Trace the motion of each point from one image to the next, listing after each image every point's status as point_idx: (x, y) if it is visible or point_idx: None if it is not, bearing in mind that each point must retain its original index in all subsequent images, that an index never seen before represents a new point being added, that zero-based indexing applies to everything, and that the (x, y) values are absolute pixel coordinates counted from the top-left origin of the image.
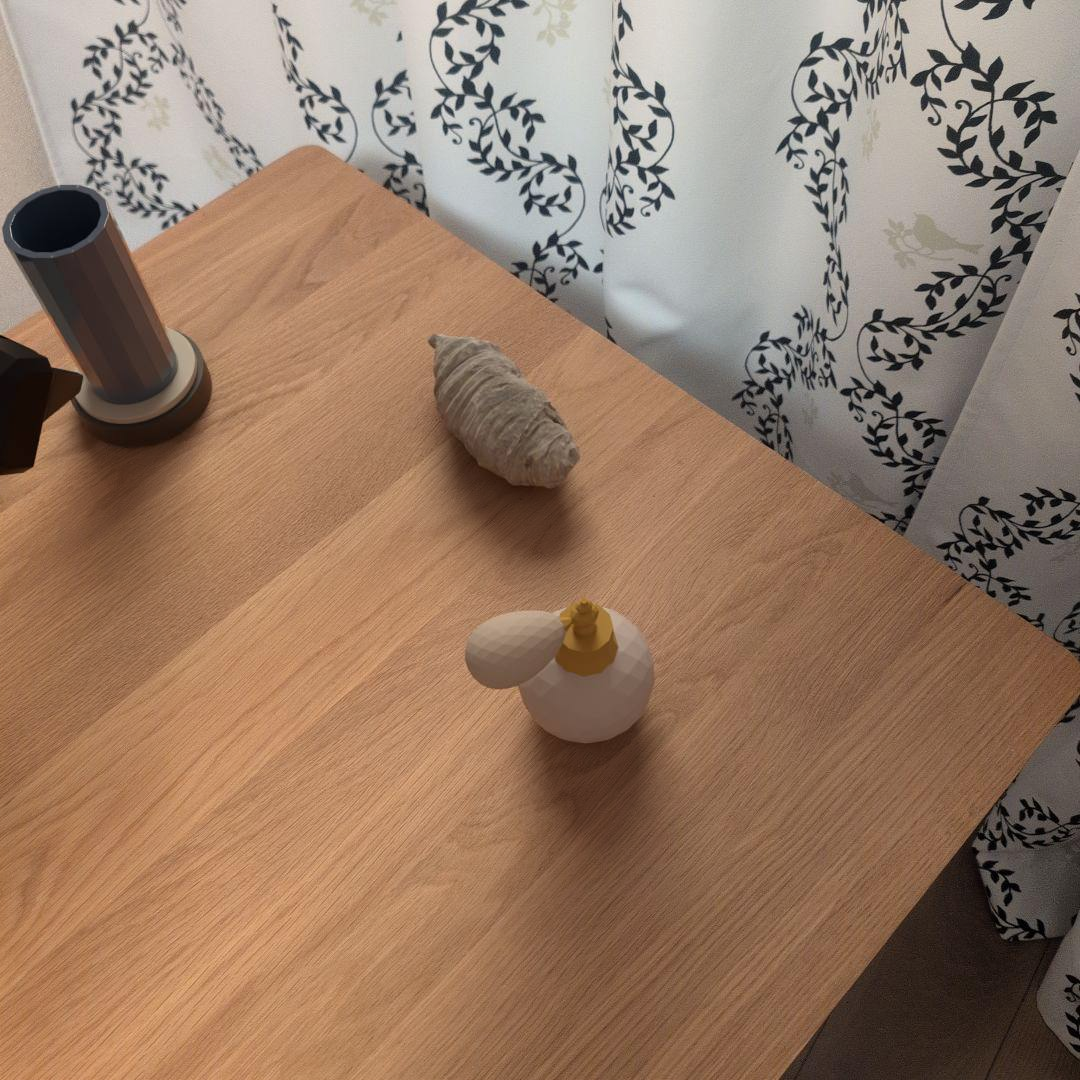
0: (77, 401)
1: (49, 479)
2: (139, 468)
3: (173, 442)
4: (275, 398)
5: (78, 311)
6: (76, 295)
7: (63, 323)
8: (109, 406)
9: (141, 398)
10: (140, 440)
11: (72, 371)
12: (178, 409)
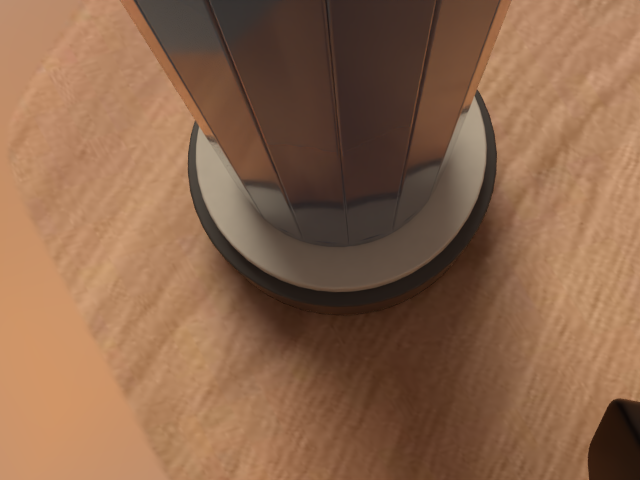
0: (243, 258)
1: (251, 441)
2: (430, 353)
3: (464, 268)
4: (610, 102)
5: (415, 77)
6: (451, 5)
7: (311, 136)
8: (340, 256)
9: (413, 216)
10: (411, 295)
11: (634, 424)
12: (487, 207)
